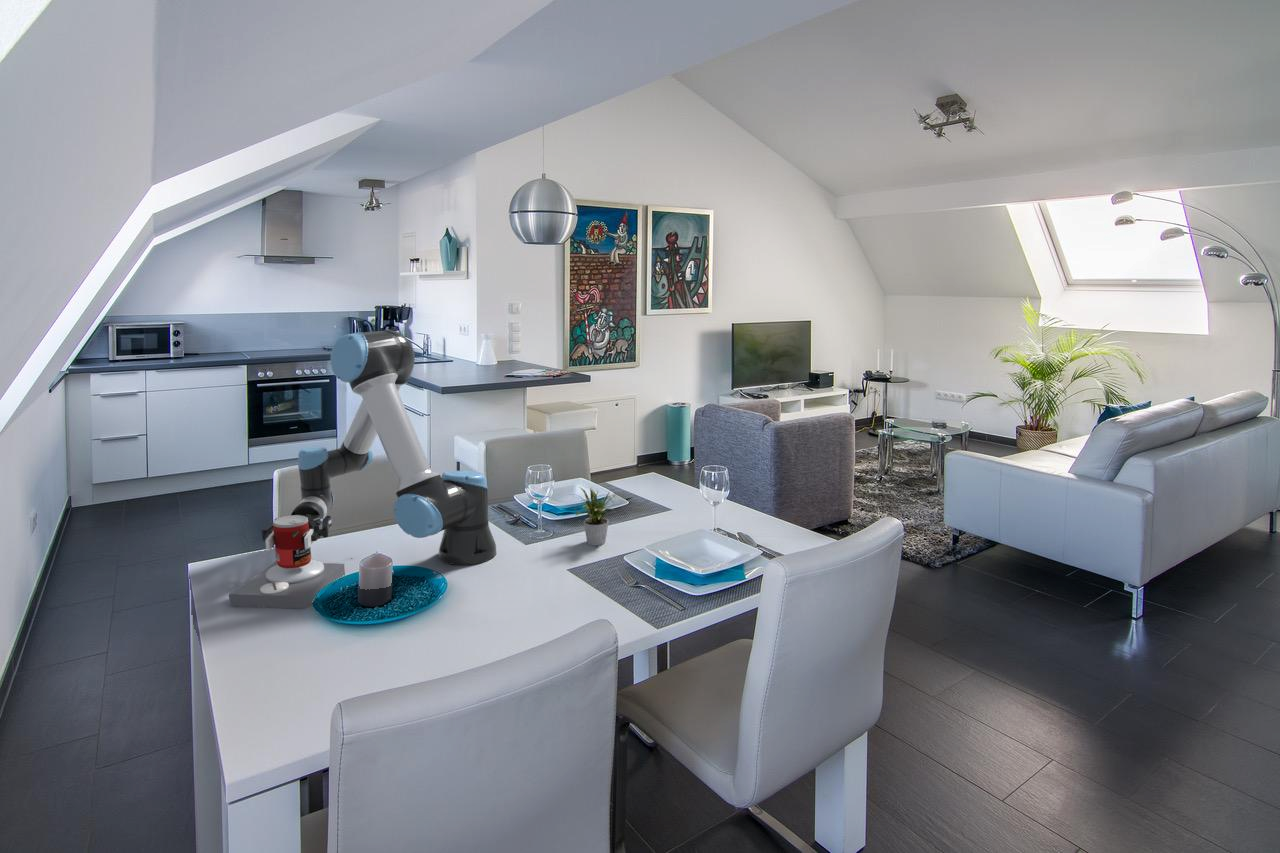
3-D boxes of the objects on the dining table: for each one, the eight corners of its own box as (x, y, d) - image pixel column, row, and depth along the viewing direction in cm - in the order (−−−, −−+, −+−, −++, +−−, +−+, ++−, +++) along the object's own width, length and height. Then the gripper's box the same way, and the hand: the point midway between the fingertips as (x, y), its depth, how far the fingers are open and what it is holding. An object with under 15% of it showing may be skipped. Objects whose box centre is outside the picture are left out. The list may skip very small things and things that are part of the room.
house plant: (556, 542, 219) (555, 486, 216) (590, 530, 229) (590, 476, 226) (592, 554, 210) (592, 496, 207) (626, 540, 220) (626, 485, 217)
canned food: (299, 570, 184) (295, 526, 182) (269, 567, 186) (265, 523, 183) (318, 558, 191) (315, 516, 189) (289, 556, 193) (285, 513, 191)
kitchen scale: (345, 574, 196) (343, 560, 195) (305, 608, 176) (304, 592, 175) (276, 572, 197) (275, 558, 196) (230, 606, 178) (228, 589, 177)
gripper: (351, 526, 207) (334, 556, 185) (268, 530, 203) (241, 562, 181) (349, 499, 206) (332, 526, 184) (265, 503, 202) (238, 531, 180)
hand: (287, 544), depth 183 cm, fingers closed on canned food, 8 cm apart
